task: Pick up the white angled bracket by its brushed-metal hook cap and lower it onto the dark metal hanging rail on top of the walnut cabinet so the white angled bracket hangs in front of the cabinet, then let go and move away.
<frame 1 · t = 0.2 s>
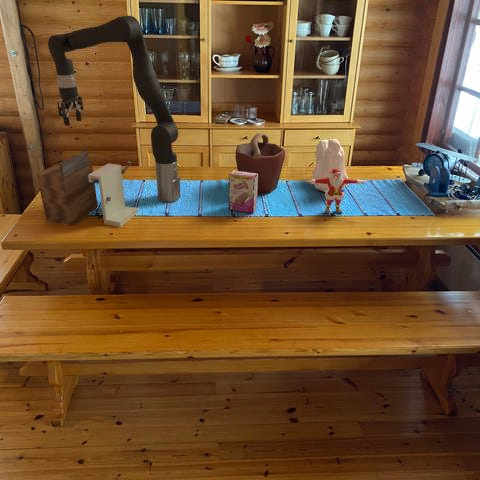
hand: (73, 123, 211), 29 cm above the table, tool pointing down, fingers open, 8 cm apart
white angled bracket: (114, 216, 195), on the table
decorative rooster: (327, 187, 227), on the table
drinking horn: (101, 181, 229), on the table
candy bar box: (242, 210, 203), on the table
cabinet: (72, 214, 197), on the table
bucket: (256, 187, 225), on the table
santa figurine: (332, 211, 202), on the table
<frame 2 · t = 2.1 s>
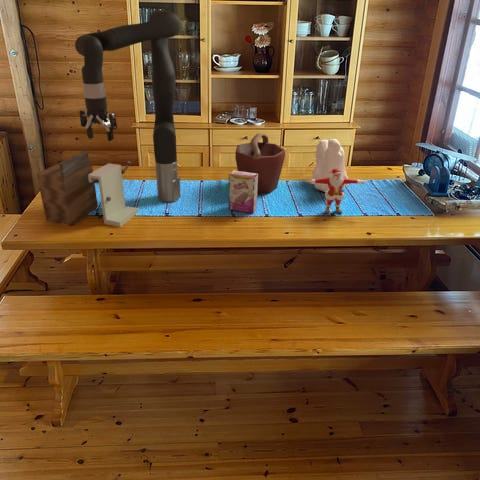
hand: (100, 139, 181), 32 cm above the table, tool pointing down, fingers open, 8 cm apart
nothing on the table moved.
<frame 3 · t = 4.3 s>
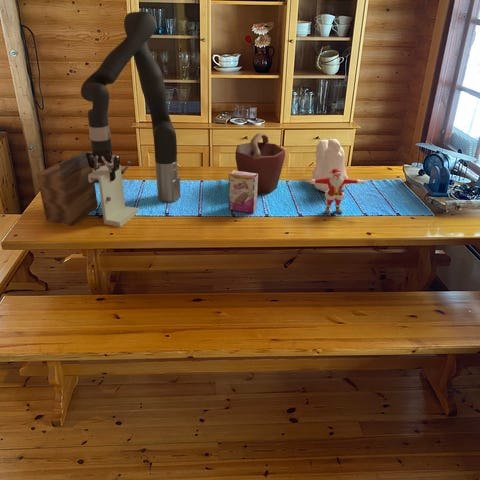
hand: (105, 179, 188), 16 cm above the table, tool pointing down, fingers closed on white angled bracket, 5 cm apart
white angled bracket: (114, 216, 195), on the table, touching gripper
everything else where it was.
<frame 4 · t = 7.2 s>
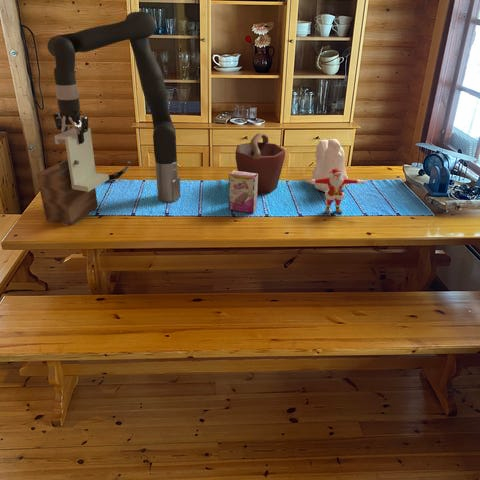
hand: (74, 142, 181), 31 cm above the table, tool pointing down, fingers closed on white angled bracket, 5 cm apart
white angled bracket: (83, 182, 188), point 15 cm above the table, touching gripper
everything else where it was.
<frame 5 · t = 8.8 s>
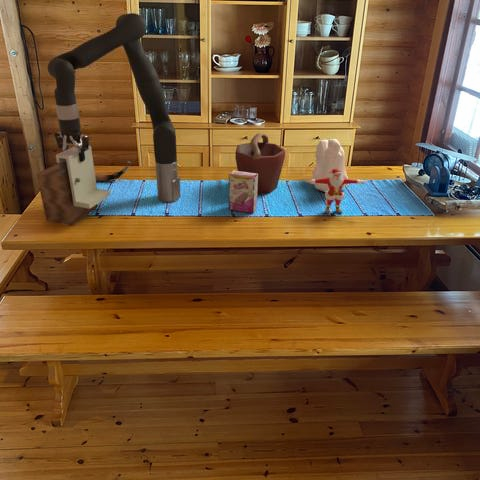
hand: (75, 160, 184), 24 cm above the table, tool pointing down, fingers closed on white angled bracket, 5 cm apart
white angled bracket: (84, 199, 191), point 8 cm above the table, touching gripper
everything else where it was.
when the fingers open (23 cm above the table, at t = 10.3 s): white angled bracket moves 1 cm, resting on cabinet.
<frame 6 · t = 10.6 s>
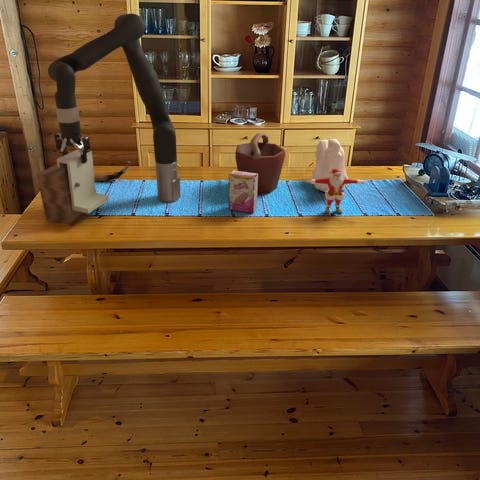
hand: (75, 161, 184), 23 cm above the table, tool pointing down, fingers open, 7 cm apart
white angled bracket: (83, 203, 192), point 6 cm above the table, touching cabinet
everything else where it was.
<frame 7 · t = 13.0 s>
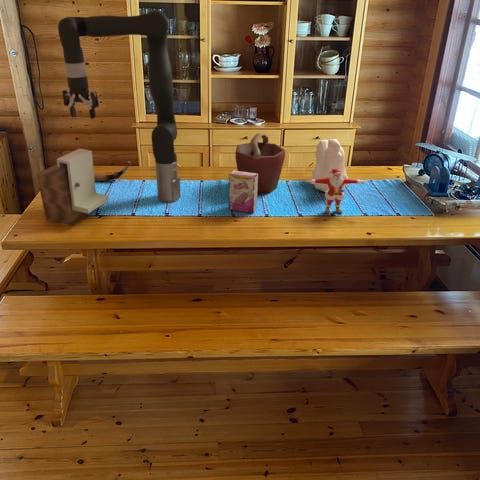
hand: (83, 117, 190), 37 cm above the table, tool pointing down, fingers open, 8 cm apart
nothing on the table moved.
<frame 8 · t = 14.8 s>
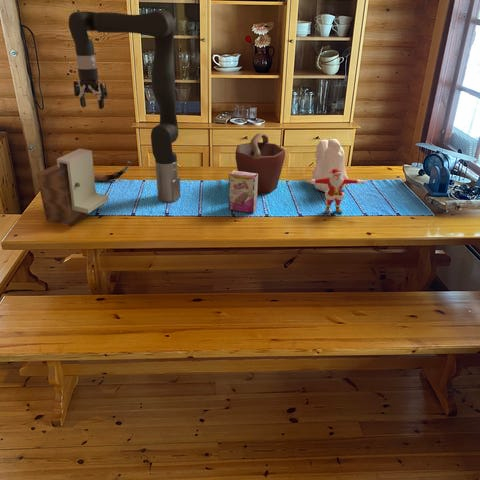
hand: (92, 107, 199), 38 cm above the table, tool pointing down, fingers open, 8 cm apart
nothing on the table moved.
at the end: white angled bracket 1.0 cm from the target spot, point 5.9 cm above the table; white angled bracket touching cabinet; the gripper is holding nothing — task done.
